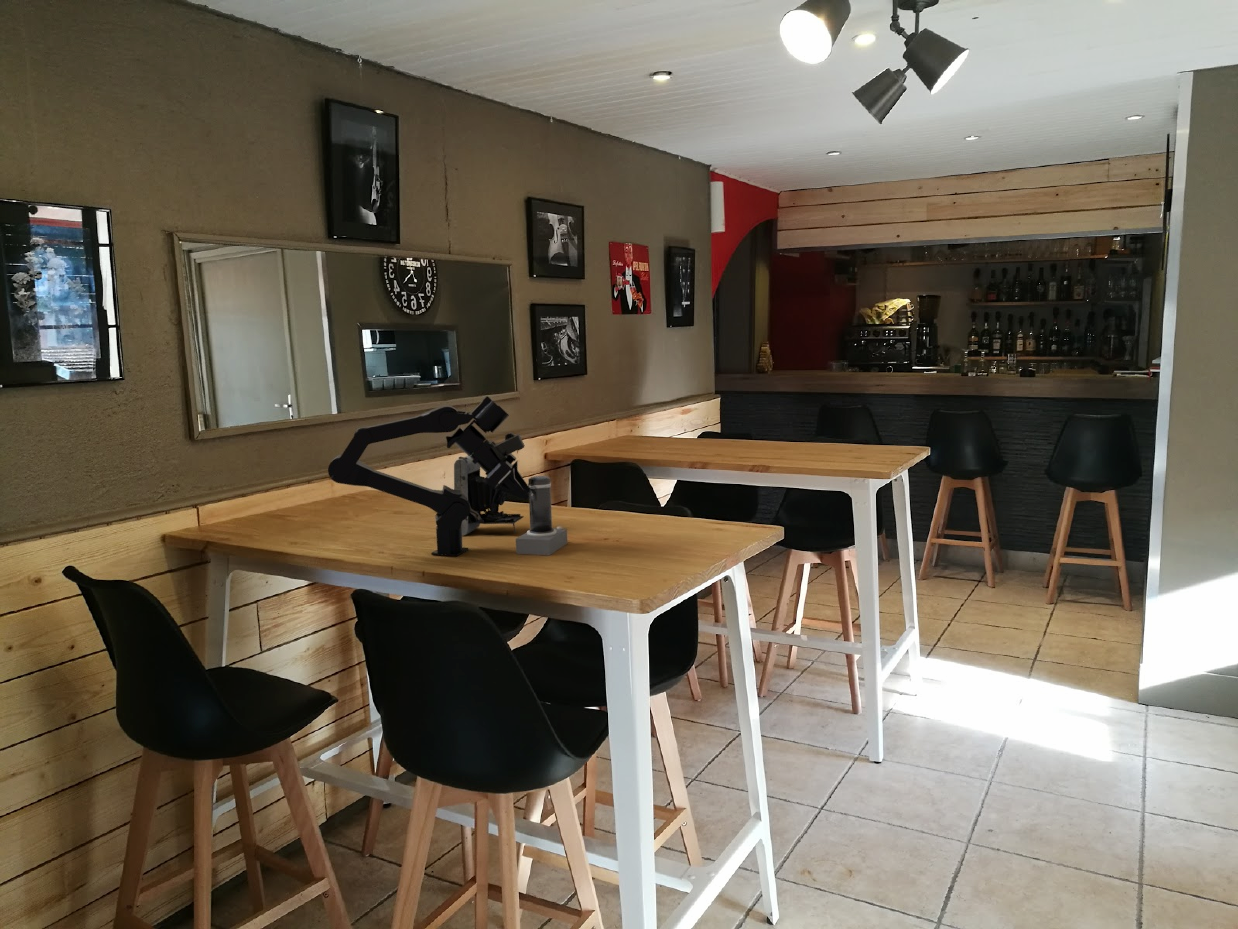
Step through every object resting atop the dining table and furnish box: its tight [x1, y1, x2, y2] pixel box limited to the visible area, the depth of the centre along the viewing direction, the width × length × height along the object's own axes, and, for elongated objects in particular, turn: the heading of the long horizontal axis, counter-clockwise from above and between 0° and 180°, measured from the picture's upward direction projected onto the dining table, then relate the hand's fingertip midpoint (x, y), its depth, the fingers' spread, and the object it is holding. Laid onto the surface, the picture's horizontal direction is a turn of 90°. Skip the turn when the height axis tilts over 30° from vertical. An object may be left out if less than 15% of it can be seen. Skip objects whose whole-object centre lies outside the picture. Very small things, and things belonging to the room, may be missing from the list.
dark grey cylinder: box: [527, 475, 553, 532], centre depth 205 cm, size 5×5×12 cm
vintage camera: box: [453, 453, 524, 537], centre depth 224 cm, size 10×16×20 cm, turn 79°
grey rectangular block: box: [515, 526, 568, 556], centre depth 206 cm, size 12×8×4 cm, turn 164°
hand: (528, 494), depth 204 cm, fingers open, 9 cm apart
